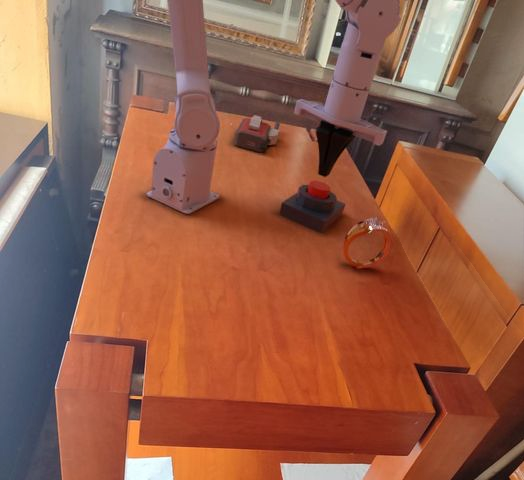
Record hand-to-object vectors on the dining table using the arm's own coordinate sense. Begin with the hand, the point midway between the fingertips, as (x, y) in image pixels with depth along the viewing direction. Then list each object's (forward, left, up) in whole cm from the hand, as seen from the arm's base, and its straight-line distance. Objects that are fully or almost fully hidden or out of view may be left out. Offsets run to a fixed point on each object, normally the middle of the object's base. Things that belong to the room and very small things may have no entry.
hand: (323, 174), depth 80 cm
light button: (0, 0, -4) cm, 4 cm away
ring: (-11, -12, -8) cm, 18 cm away
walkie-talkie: (+25, +25, -7) cm, 36 cm away
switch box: (0, 0, -7) cm, 7 cm away
